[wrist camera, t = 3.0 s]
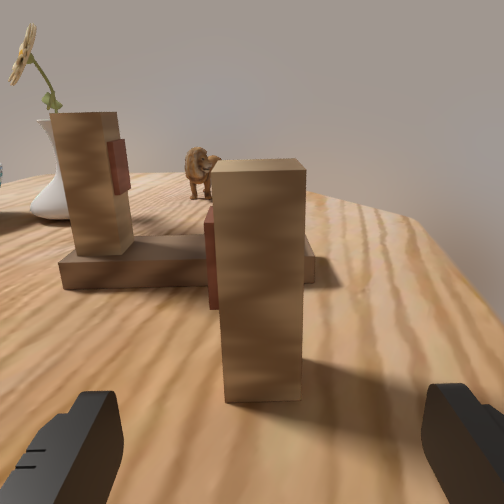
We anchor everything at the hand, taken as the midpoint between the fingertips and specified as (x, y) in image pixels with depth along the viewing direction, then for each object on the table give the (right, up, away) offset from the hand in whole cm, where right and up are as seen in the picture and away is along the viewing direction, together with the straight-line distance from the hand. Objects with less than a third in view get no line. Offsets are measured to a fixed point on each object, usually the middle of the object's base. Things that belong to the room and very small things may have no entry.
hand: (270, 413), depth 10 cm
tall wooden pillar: (0, -3, +12) cm, 13 cm away
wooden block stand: (-6, +2, +27) cm, 28 cm away
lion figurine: (-8, +14, +60) cm, 62 cm away
